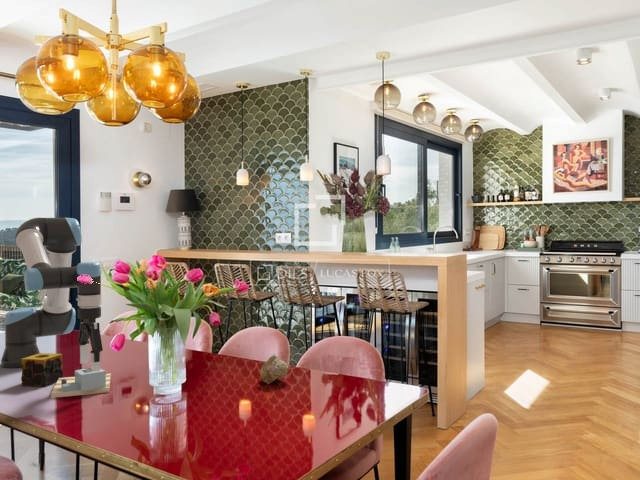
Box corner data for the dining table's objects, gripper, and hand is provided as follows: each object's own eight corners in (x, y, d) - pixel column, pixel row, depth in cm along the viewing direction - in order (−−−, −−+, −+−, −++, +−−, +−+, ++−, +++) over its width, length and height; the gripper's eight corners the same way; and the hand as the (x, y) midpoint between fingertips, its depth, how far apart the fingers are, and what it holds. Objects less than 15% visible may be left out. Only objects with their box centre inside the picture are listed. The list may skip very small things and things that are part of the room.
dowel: (61, 388, 186) (61, 379, 186) (66, 387, 186) (66, 379, 186) (61, 389, 184) (61, 380, 184) (66, 388, 185) (66, 380, 185)
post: (86, 385, 189) (86, 367, 189) (95, 384, 190) (95, 366, 190) (85, 387, 186) (85, 369, 186) (95, 387, 187) (94, 368, 187)
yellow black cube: (44, 387, 193) (44, 359, 193) (20, 386, 195) (19, 358, 195) (63, 379, 203) (63, 353, 203) (40, 378, 205) (39, 352, 205)
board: (58, 382, 199) (58, 378, 199) (110, 377, 205) (110, 373, 205) (51, 397, 180) (51, 393, 180) (108, 392, 186) (108, 387, 186)
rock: (293, 382, 197) (292, 355, 196) (272, 388, 189) (271, 360, 189) (271, 376, 205) (270, 350, 205) (250, 382, 197) (249, 355, 197)
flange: (98, 381, 193) (98, 366, 193) (105, 386, 187) (105, 370, 187) (59, 388, 185) (59, 372, 185) (65, 394, 179) (65, 377, 179)
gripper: (68, 303, 195) (69, 361, 195) (88, 312, 175) (89, 376, 176) (90, 301, 200) (90, 358, 200) (112, 310, 180) (112, 372, 181)
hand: (90, 367), depth 188 cm, fingers open, 13 cm apart
